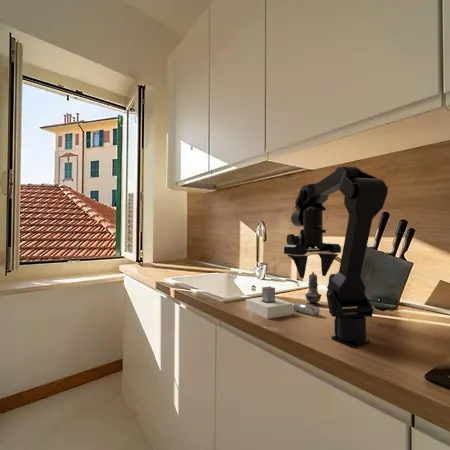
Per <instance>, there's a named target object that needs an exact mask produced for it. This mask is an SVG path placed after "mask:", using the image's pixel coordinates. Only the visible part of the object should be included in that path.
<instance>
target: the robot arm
mask: <svg viewBox="0 0 450 450" xmlns="http://www.w3.org/2000/svg"><path fill="white" fill-rule="evenodd" d="M338 191H339V192H340V193H341V194H342V195H343V197H344V199H343V204H344V206H345V208H346V211H347V213H348V220H347V224H346V225H347V227H346V230H345V237H344V242H343V247H342V246H341V245H340V244H339V243H328V242H327V243H326V242H324V234H326V232H327V230H326V229H324V228H323V223H324V221H323V220H324V219H323V217H324V214H323V213H324V211H326V207H325V206H324V205H323V204H324V203H325V202H327V201H328V200H329V196H330V195H332V194H333V193H336V192H338ZM388 192H389V188H388V186H387V185H386V183H385V181H384V180H383V179H381V178H377V176H375V175H371V174H369V173H368V172H365V171H363V170H362V169H360V168H359V167H357V166H348V165H347V166H345V165H344V166H343V165H342V166H339V167H337V168H336V169H335V171H333V172H331V173H330V174H329V175H327V176H325V177H324V178H323V179H321V180H319V181H318V182H315V183H308V184H305V185H303V186H302V187H301V188H300V190H299V192H298V195H297V197H296V199H295V202H294V203H295V206H294V207H295V209H296V210H294V211H293V212H292V214H291V216H290V221H291V223H292V224H293V225H294V226H295V227H300V228H301V227H303V229H300V231H299V234H298V235H295V234H294V233H289V234H287V235H286V243H287V244H285V246H284V247H283V254H284V255H287V257H289V258H291V259H292V260H293V262H294V264H295V265H294V266H295V267H296V270H297V272H298V276H299V278H300V279H304V278H305V275H306V270H307V269H306V268H307V263H308V256H309V255H306V254H307V253H314V252H315V253H316V252H317V255H318V256H319V258H320V265H321V275H322V277H326V276H327V274H328V272H329V270H330V268H331V266H332V265H333V263H334V261H335V259H336V257H338V256H339V254H341V253H342V254H341V258H340V264H339V268H338V269H339V270H338V271H337V272H336V273H330V275H329V276H328V283H327V287H326V289H327V290H326V300H327V301H326V302H327V307H328V312H329V314H330V315H331V317H333V318H334V335H332V336H330V337H331V340H334V341H337V342H339V343H341V344H344V345H347V346H349V347H351V348H355V347H359V346H362V345H366V344H369V343H371V339H368V338H367V318H368V317H369V318H371V317H373V315H374V314H373V313H374V308H373V306H372V304H371V302H370V301H369V299H368V296H367V295H366V285H365V283H364V280H363V278H362V271H363V266H364V263H365V257H366V252H367V247H368V243H369V237H370V234H371V230H372V229H371V228H372V223H373V219H374V218H375V217H376V216H377V215H378V214H379V212H380V211H381V210H382V209H383V208H384V206H385V205H384V204H385V202H386V201H387V200H386V199H387V196H388Z"/></svg>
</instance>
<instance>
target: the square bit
mask: <svg viewBox="0 0 450 450" xmlns="http://www.w3.org/2000/svg"><path fill="white" fill-rule="evenodd" d="M261 290H262V291H261V297H262V302H264V303H274V302H275V298H276V288H275V287H272V286H270V285H269V286H262V287H261Z"/></svg>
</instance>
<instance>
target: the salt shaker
mask: <svg viewBox="0 0 450 450" xmlns="http://www.w3.org/2000/svg"><path fill="white" fill-rule="evenodd" d="M307 285H308V291H307V293H304V296H305V299H306V300H307V302H306V303H305V304H307V305H311V306H315V307H318V308H319V307H321V306H322V304H320V300H321V298H322V294H320V293H319V291H318V286H319V284H318V276H317V274H315V271H312V273H311V274H309V276H308V283H307Z"/></svg>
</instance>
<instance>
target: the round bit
mask: <svg viewBox="0 0 450 450" xmlns="http://www.w3.org/2000/svg"><path fill="white" fill-rule="evenodd" d="M293 311H294V312H298V313H300V314H305V315H308V316H313V317H318V316H319V315H320V308H319V306H318V307H315V306H311V305H307V304H306V303H302V302H298V301H296V302H294V303H293Z"/></svg>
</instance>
